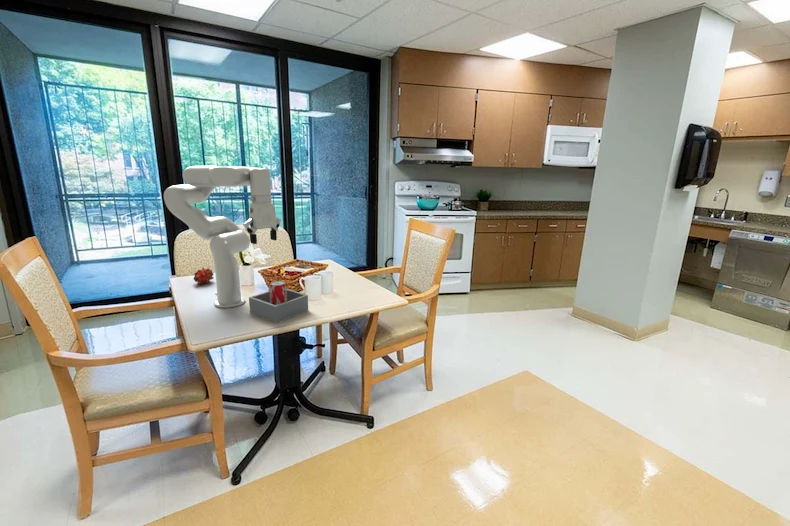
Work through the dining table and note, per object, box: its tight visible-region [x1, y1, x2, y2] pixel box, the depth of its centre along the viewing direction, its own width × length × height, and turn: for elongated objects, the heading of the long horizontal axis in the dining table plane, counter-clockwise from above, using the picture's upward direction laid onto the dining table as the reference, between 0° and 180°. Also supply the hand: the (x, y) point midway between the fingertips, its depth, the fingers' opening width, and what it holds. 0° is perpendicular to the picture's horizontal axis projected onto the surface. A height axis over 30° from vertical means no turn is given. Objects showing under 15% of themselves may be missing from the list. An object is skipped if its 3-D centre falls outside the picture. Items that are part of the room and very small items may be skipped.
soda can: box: [268, 280, 288, 305], centre depth 155 cm, size 7×7×12 cm
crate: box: [248, 288, 309, 324], centre depth 156 cm, size 17×17×7 cm
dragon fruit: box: [193, 267, 215, 285], centre depth 188 cm, size 8×8×12 cm
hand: (264, 241), depth 150 cm, fingers open, 9 cm apart
